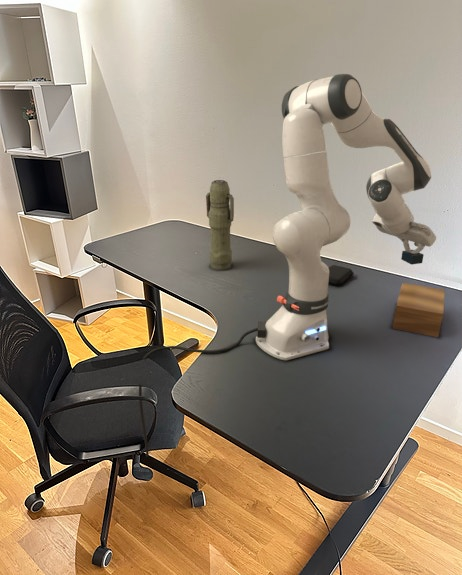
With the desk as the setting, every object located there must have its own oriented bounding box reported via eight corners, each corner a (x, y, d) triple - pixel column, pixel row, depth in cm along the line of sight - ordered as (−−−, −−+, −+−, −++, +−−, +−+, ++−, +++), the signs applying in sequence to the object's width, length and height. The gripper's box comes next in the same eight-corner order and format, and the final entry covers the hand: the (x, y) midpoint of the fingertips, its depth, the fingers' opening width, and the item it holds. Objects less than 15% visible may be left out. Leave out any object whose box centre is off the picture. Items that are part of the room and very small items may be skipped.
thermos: (212, 260, 188) (210, 177, 173) (238, 264, 183) (238, 180, 168) (203, 267, 181) (200, 182, 166) (229, 272, 176) (228, 184, 161)
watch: (426, 262, 151) (432, 231, 146) (407, 265, 149) (411, 233, 144) (416, 257, 156) (421, 227, 151) (396, 259, 154) (401, 229, 149)
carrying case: (342, 289, 161) (356, 275, 172) (342, 281, 160) (357, 268, 171) (315, 282, 167) (331, 269, 178) (316, 274, 166) (332, 262, 177)
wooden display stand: (438, 337, 131) (443, 313, 127) (392, 328, 136) (396, 305, 132) (439, 311, 146) (444, 289, 142) (398, 303, 151) (402, 282, 147)
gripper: (433, 219, 132) (445, 243, 141) (378, 205, 148) (392, 228, 157) (421, 236, 132) (434, 259, 141) (367, 220, 148) (382, 242, 157)
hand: (412, 242), depth 149 cm, fingers closed on watch, 4 cm apart
